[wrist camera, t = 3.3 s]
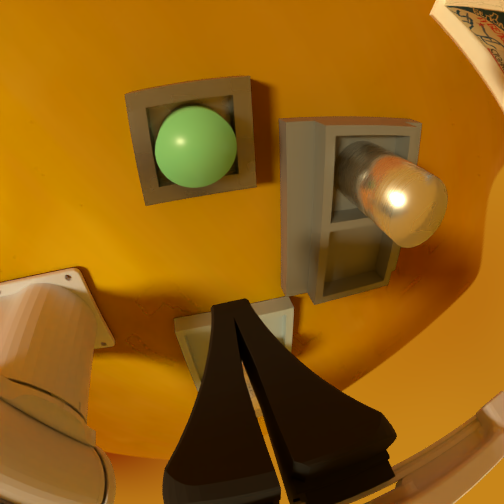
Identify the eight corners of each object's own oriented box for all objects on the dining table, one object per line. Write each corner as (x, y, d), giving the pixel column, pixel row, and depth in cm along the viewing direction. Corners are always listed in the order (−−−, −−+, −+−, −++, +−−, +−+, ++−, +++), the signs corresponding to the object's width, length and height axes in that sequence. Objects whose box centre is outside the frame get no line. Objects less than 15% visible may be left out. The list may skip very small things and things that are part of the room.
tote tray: (196, 380, 28) (198, 391, 27) (173, 318, 23) (174, 331, 22) (285, 361, 29) (289, 371, 28) (288, 295, 24) (294, 307, 23)
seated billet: (331, 202, 19) (383, 254, 14) (334, 141, 16) (397, 177, 12) (381, 195, 19) (437, 241, 15) (387, 140, 17) (453, 174, 12)
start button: (164, 174, 16) (162, 194, 13) (154, 110, 14) (149, 117, 11) (229, 163, 16) (239, 181, 14) (224, 99, 14) (233, 104, 12)
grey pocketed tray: (281, 287, 23) (292, 309, 21) (278, 118, 16) (295, 126, 14) (387, 262, 25) (403, 280, 23) (410, 119, 18) (435, 128, 16)
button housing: (148, 191, 17) (145, 206, 15) (130, 91, 13) (124, 94, 12) (248, 175, 18) (256, 187, 16) (241, 75, 14) (250, 75, 13)
